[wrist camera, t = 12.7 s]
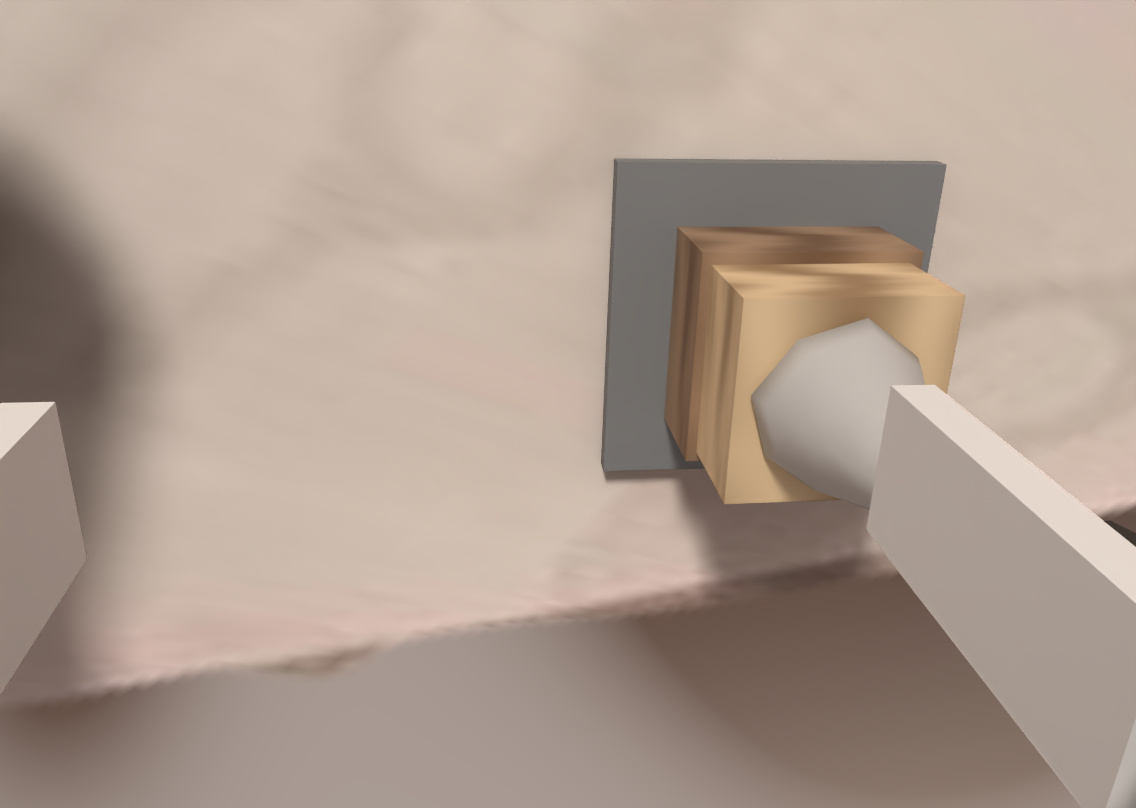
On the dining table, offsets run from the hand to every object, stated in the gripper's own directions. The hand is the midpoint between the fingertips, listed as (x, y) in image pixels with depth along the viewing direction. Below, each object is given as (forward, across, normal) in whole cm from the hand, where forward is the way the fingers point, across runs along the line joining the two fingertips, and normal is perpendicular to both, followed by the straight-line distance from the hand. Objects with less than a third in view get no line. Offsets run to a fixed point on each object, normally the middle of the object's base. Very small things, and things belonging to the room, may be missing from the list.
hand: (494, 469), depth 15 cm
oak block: (+26, +15, -8) cm, 31 cm away
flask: (+21, +15, -8) cm, 27 cm away
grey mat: (+32, +15, -8) cm, 36 cm away
